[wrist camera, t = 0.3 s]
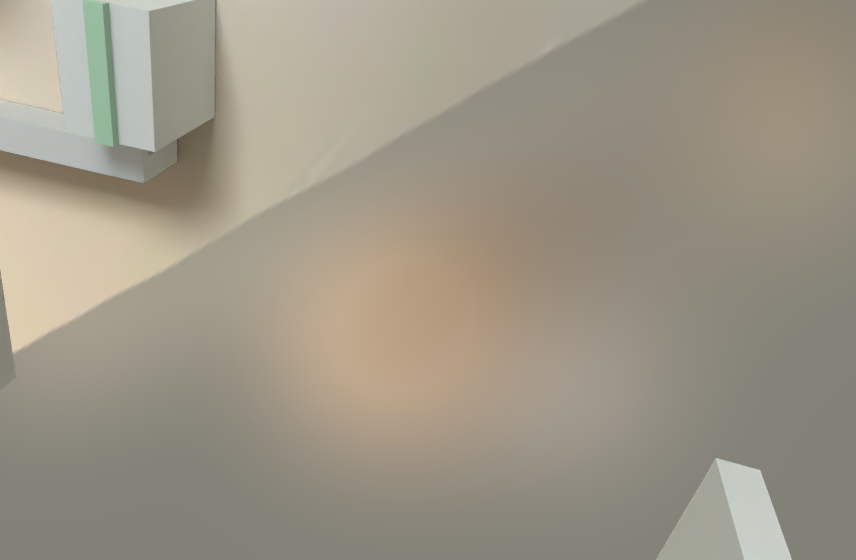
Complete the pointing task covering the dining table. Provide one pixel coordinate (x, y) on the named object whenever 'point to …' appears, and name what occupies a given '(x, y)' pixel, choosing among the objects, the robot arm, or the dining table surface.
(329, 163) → the dining table surface
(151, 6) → the rail mount
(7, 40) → the dining table surface
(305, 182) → the dining table surface
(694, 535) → the robot arm
